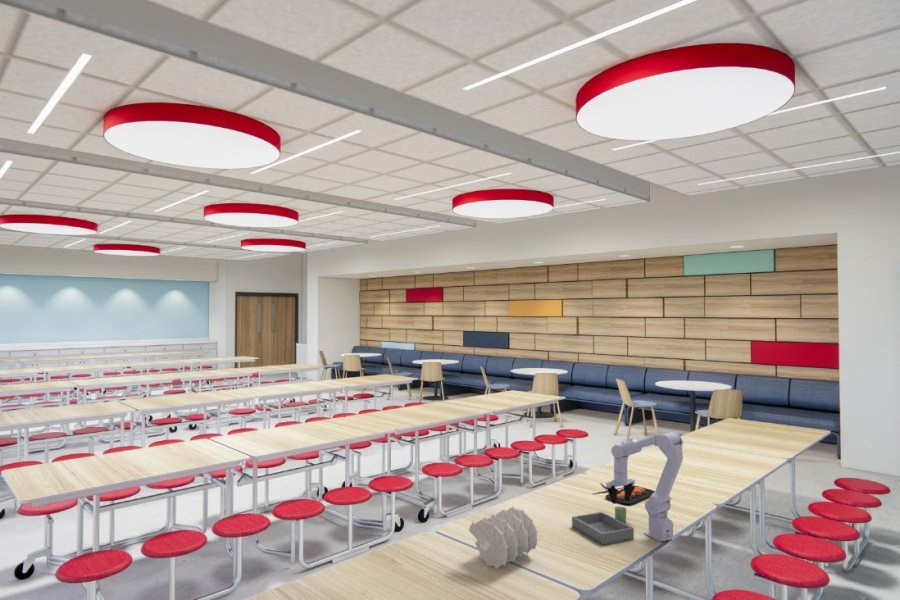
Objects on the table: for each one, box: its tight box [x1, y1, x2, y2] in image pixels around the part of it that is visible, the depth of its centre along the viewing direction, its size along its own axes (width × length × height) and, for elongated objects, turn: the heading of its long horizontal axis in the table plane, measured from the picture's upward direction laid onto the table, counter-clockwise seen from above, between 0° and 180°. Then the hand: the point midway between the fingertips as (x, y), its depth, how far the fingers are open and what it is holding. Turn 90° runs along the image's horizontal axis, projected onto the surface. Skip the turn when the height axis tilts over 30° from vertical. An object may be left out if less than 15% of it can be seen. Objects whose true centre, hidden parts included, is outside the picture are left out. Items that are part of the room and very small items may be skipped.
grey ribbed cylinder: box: [468, 506, 539, 570], centre depth 201 cm, size 18×18×25 cm
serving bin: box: [571, 511, 635, 546], centre depth 226 cm, size 20×16×4 cm
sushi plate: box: [593, 483, 656, 505], centre depth 279 cm, size 29×30×4 cm
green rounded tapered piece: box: [614, 505, 627, 524], centre depth 239 cm, size 5×5×6 cm
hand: (620, 502), depth 239 cm, fingers open, 7 cm apart
